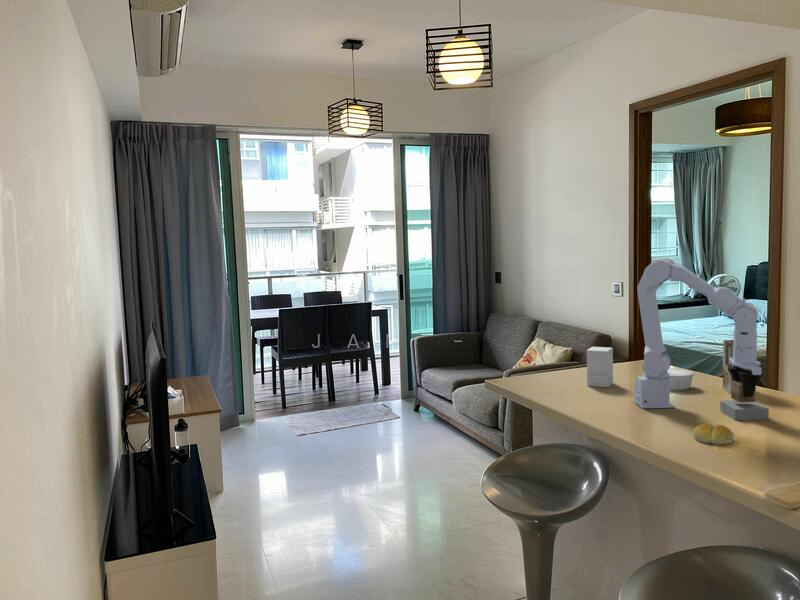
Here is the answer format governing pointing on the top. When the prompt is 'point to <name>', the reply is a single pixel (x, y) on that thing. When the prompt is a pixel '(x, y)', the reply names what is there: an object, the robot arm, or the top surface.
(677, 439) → the top surface
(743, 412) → the block
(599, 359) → the supplement box
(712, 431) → the bread roll
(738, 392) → the walnut block
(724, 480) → the top surface
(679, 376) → the ramekin
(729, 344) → the coffee box
